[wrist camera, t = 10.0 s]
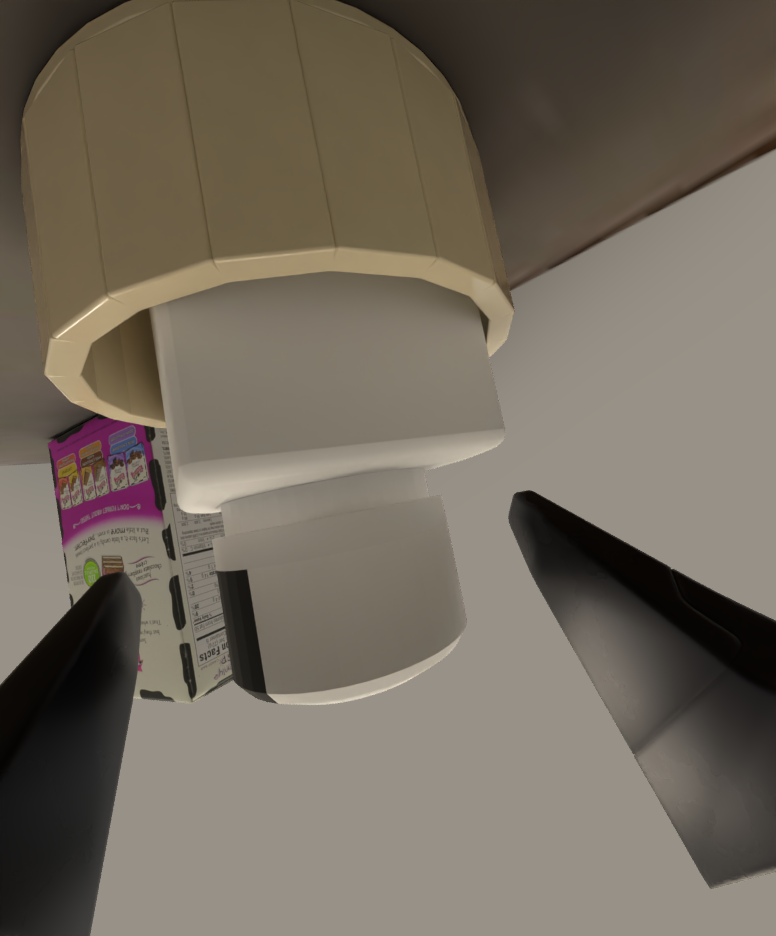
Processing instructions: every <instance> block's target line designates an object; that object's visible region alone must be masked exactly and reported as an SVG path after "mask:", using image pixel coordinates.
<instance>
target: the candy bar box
mask: <svg viewBox="0 0 776 936" xmlns="http://www.w3.org/2000/svg"><path fill="white" fill-rule="evenodd" d="M48 448H49V452H50V459H51V465H52V474H53V481H54V487H55V495H56V501H57V509H58V515H59V522H60V529H61V535H62V545H63V552H64V557H65V564H66V570H67V582H68V587H69V594H70V600H71V607H72V606H73V605H74V604H75V603H76V602H77V601H78V600H79V599H80V598H81V597H82V595H83V594H84V593H85V592H86V591H87V590H88V589H89V588H90V587H91V586H92V585H93V583H94V582H95V581H96V580H97V579H98V578H99V577H101V576H102V575H105V574H110V573H115V572H120V571H123V572H125V573H126V574H127V575H128V576H129V578H130V579H131V581H132V582H133V583H134V585H135V586H136V588H137V589H138V591H139V592H140V595H141V598H142V614H141V631H140V647H139V663H138V673H137V680H136V686H135V691H134V697H133V698H139V699H150V700H160V701H172V702H182V703H194V702H195V701H197V700H199V699H201V698H202V697H204V696H206V695H208V694H209V693H211V692H212V691H214V690H216V689H218V688H220V687H222V686H223V685H225V684H227V683H228V682H230V681H232V680H233V676H232V669H231V663H230V656H229V650H228V643H227V636H226V630H225V623H224V617H223V610H222V604H221V597H220V590H219V584H218V577H217V571H216V564H215V557H214V551H213V544H212V539H215V538H219V537H224V536H225V531H224V525H223V518H222V512H216V513H187V512H185V511H183V510H181V509H180V507H179V505H178V503H177V497H176V490H175V483H174V476H173V469H172V463H171V456H170V449H169V442H168V435H167V429H165V428H155V427H150V426H145V425H140V424H135V423H130V422H125V421H119V420H114V419H110V418H108V417H105V416H103V415H99V416H97V417H95V418H93V419H91V420H89V421H88V422H86V423H84V424H82V425H80V426H78V427H76V428H75V429H73V430H71V431H69V432H67V433H65V434H64V435H62V436H60V437H58V438H56V439H54V440H53V441H51V442H50V443H48Z"/></svg>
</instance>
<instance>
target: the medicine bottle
mask: <svg viewBox="0 0 776 936" xmlns="http://www.w3.org/2000/svg"><path fill="white" fill-rule="evenodd" d="M149 312H150V319H151V325H152V332H153V339H154V346H155V353H156V360H157V367H158V373H159V380H160V387H161V394H162V401H163V408H164V415H165V421H166V428H167V435H168V442H169V449H170V456H171V463H172V469H173V476H174V483H175V490H176V497H177V503H178V505H179V507H180V509H181V510H183V511H185V512H187V513H216V512H222V518H223V525H224V531H225V536H224V537H219V538H215V539H212V544H213V551H214V557H215V564H216V571H217V577H218V584H219V590H220V597H221V604H222V610H223V617H224V623H225V630H226V636H227V643H228V650H229V656H230V663H231V669H232V676H233V680H234V681H235V683H236V684H237V685H238V686H240V687H241V688H243V689H244V690H245V691H247V692H248V693H249V694H251V695H252V696H254V697H255V698H257V699H260V700H263V701H266V702H272V703H278V704H296V705H297V704H299V705H322V704H333V703H341V702H345V701H352V700H356V699H360V698H364V697H368V696H371V695H374V694H377V693H380V692H383V691H386V690H388V689H391V688H393V687H396V686H398V685H400V684H402V683H404V682H406V681H408V680H410V679H411V678H413V677H415V676H417V675H418V674H420V673H422V672H424V671H425V670H427V669H429V668H430V667H432V666H433V665H435V664H436V663H438V662H439V661H441V660H442V659H443V658H445V657H446V656H447V655H448V654H449V653H450V652H451V651H452V650H453V649H454V647H455V646H456V645H457V643H458V641H459V639H460V637H461V635H462V633H463V631H464V629H465V627H466V623H467V618H466V614H465V609H464V603H463V599H462V594H461V589H460V584H459V579H458V574H457V569H456V564H455V559H454V554H453V550H452V545H451V539H450V535H449V529H448V525H447V520H446V515H445V510H444V505H443V500H442V495H438V496H432V497H430V496H429V492H428V486H427V481H426V477H425V471H427V470H430V469H434V468H438V467H441V466H444V465H447V464H451V463H455V462H458V461H461V460H465V459H468V458H471V457H472V456H475V455H478V454H481V453H483V452H486V451H488V450H490V449H493V448H495V447H496V446H498V445H500V444H501V442H502V441H503V439H504V438H505V428H504V423H503V418H502V414H501V409H500V405H499V400H498V395H497V391H496V386H495V382H494V378H493V372H492V368H491V364H490V359H489V354H488V350H487V345H486V341H485V336H484V331H483V327H482V322H481V318H480V313H479V309H478V306H477V305H476V304H475V302H474V301H473V300H472V299H471V298H470V297H469V296H467V295H464V294H461V293H458V292H456V291H453V290H450V289H447V288H445V287H442V286H439V285H436V284H434V283H431V282H428V281H425V280H423V279H420V278H411V277H398V276H385V275H373V274H360V273H347V272H335V271H327V272H318V273H309V274H300V275H291V276H282V277H273V278H264V279H256V280H247V281H238V282H229V283H226V284H223V285H220V286H217V287H213V288H210V289H207V290H204V291H201V292H198V293H194V294H191V295H188V296H185V297H182V298H179V299H175V300H172V301H169V302H166V303H163V304H160V305H156V306H153V307H150V308H149Z"/></svg>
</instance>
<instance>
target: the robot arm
mask: <svg viewBox="0 0 776 936" xmlns="http://www.w3.org/2000/svg"><path fill="white" fill-rule="evenodd" d="M508 519H509V523H510V526H511V529H512V531H513V533H514V536H515V538H516V540H517V543H518V545H519V547H520V549H521V552H522V554H523V557H524V559H525V561H526V563H527V565H528V568H529V570H530V572H531V574H532V577H533V578H534V580H535V582H536V584H537V586H538V588H539V589H540V591H541V593H542V595H543V596H544V598H545V600H546V602H547V603H548V605H549V607H550V609H551V611H552V612H553V614H554V616H555V618H556V619H557V621H558V623H559V625H560V626H561V628H562V630H563V632H564V633H565V635H566V637H567V639H568V640H569V642H570V644H571V646H572V647H573V649H574V651H575V653H576V654H577V656H578V658H579V660H580V661H581V663H582V665H583V667H584V669H585V670H586V672H587V674H588V675H589V677H590V679H591V681H592V683H593V684H594V686H595V688H596V690H597V691H598V693H599V695H600V697H601V698H602V700H603V702H604V704H605V705H606V707H607V709H608V710H609V713H610V714H611V716H612V718H613V720H614V721H615V723H616V725H617V727H618V728H619V730H620V732H621V734H622V735H623V737H624V739H625V741H626V742H627V744H628V746H629V748H630V749H631V751H632V753H633V754H635V755H634V757H635V759H636V760H637V762H638V764H639V766H640V768H641V769H642V771H643V773H644V775H645V776H646V778H647V780H648V782H649V783H650V785H651V787H652V788H653V790H654V792H655V794H656V796H657V797H658V799H659V801H660V803H661V804H662V806H663V808H664V810H665V812H666V813H667V815H668V817H669V819H670V820H671V822H672V824H673V826H674V827H675V829H676V831H677V833H678V834H679V836H680V838H681V840H682V841H683V843H684V845H685V847H686V848H687V850H688V852H689V854H690V855H691V857H692V859H693V860H694V862H695V864H696V866H697V868H698V870H699V871H700V873H701V875H702V876H703V878H704V880H705V881H706V883H707V884H708V886H709V887H710V888H711V889H714V888H718V887H721V886H725V885H729V884H733V883H736V882H740V881H744V880H747V879H751V878H754V877H758V876H762V875H766V874H770V873H773V872H776V621H775V620H773V619H771V618H769V617H767V616H765V615H763V614H761V613H758V612H756V611H754V610H752V609H750V608H748V607H746V606H744V605H742V604H740V603H737V602H736V601H734V600H732V599H730V598H728V597H725V596H724V595H721V594H720V593H717V592H715V591H714V590H712V589H710V588H708V587H706V586H704V585H702V584H700V583H698V582H696V581H695V580H693V579H691V578H689V577H687V576H686V575H684V574H682V573H680V572H678V571H677V570H674V569H671V568H670V567H669V566H667V565H665V564H664V563H662V562H660V561H658V560H657V559H655V558H653V557H651V556H649V555H647V554H646V553H644V552H642V551H640V550H638V549H636V548H635V547H633V546H631V545H629V544H628V543H626V542H624V541H622V540H620V539H618V538H617V537H615V536H613V535H611V534H609V533H608V532H606V531H604V530H602V529H600V528H599V527H597V526H595V525H593V524H591V523H590V522H588V521H585V520H584V519H582V518H580V517H578V516H577V515H575V514H573V513H572V512H569V511H568V510H566V509H564V508H562V507H561V506H559V505H557V504H555V503H553V502H552V501H550V500H548V499H546V498H544V497H543V496H541V495H539V494H537V493H535V492H533V491H530V490H527V491H522V492H517V493H515V494H514V495H513V499H512V503H511V507H510V511H509V518H508ZM141 614H142V598H141V595H140V592H139V591H138V589H137V588H136V586H135V585H134V583H133V582H132V581H131V579H130V578H129V576H128V575H127V574H126V573H125V572H123V571H120V572H115V573H110V574H105V575H102V576H101V577H99V578H98V579H97V580H96V581H95V582H94V583H93V585H92V586H91V587H90V588H89V589H88V590H87V591H86V592H85V593H84V594H83V595H82V597H81V598H80V599H79V600H78V601H77V602H76V603H75V604H74V605H73V606H72V607H71V609H70V610H69V611H68V612H67V613H66V614H65V615H64V616H63V617H62V618H61V619H60V621H59V622H58V623H57V624H56V625H55V626H54V627H53V628H52V629H51V630H50V632H48V634H47V635H46V636H45V637H44V638H43V639H42V640H41V641H40V642H39V643H38V644H37V646H36V647H35V648H34V649H33V650H32V651H31V652H30V653H29V654H28V655H27V656H26V657H25V659H24V660H23V661H22V662H21V663H20V664H19V665H18V666H17V667H16V668H15V670H13V672H12V673H11V674H10V675H9V676H8V677H7V678H6V679H5V680H4V681H3V682H2V684H1V685H0V936H90V933H91V927H92V921H93V916H94V911H95V905H96V900H97V894H98V888H99V883H100V878H101V872H102V866H103V861H104V856H105V850H106V845H107V839H108V834H109V828H110V823H111V817H112V812H113V806H114V801H115V796H116V790H117V785H118V779H119V773H120V768H121V763H122V757H123V752H124V746H125V740H126V735H127V730H128V724H129V719H130V713H131V708H132V702H133V697H134V691H135V686H136V680H137V673H138V663H139V647H140V631H141Z"/></svg>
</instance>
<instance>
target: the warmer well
mask: <svg viewBox="0 0 776 936" xmlns="http://www.w3.org/2000/svg"><path fill="white" fill-rule="evenodd" d="M20 147H21V189H22V197H23V206H24V214H25V222H26V231H27V239H28V247H29V255H30V264H31V272H32V280H33V289H34V297H35V305H36V314H37V322H38V330H39V338H40V347H41V355H42V363H43V372H44V374H45V375H46V377H47V378H48V379H49V380H50V381H51V382H52V383H53V384H54V385H55V386H56V387H57V388H58V389H59V390H60V391H61V392H62V393H63V394H64V396H65V397H66V398H67V399H68V400H69V401H71V402H72V403H74V404H76V405H79V406H81V407H83V408H86V409H88V410H91V411H93V412H96V413H98V414H101V415H103V416H105V417H108V418H110V419H114V420H119V421H125V422H130V423H135V424H140V425H145V426H150V427H155V428H165V429H167V428H166V421H165V415H164V408H163V401H162V394H161V387H160V380H159V373H158V367H157V360H156V353H155V346H154V339H153V332H152V325H151V319H150V312H149V308H150V307H153V306H156V305H160V304H163V303H166V302H169V301H172V300H175V299H179V298H182V297H185V296H188V295H191V294H194V293H198V292H201V291H204V290H207V289H210V288H213V287H217V286H220V285H223V284H226V283H229V282H238V281H247V280H256V279H264V278H273V277H282V276H291V275H300V274H309V273H318V272H327V271H335V272H347V273H360V274H373V275H385V276H398V277H411V278H420V279H423V280H425V281H428V282H431V283H434V284H436V285H439V286H442V287H445V288H447V289H450V290H453V291H456V292H458V293H461V294H464V295H467V296H469V297H470V298H471V299H472V300H473V301H474V302H475V304H476V305H477V306H478V309H479V313H480V318H481V322H482V327H483V331H484V336H485V341H486V345H487V350H488V354H489V358H490V357H491V356H492V355H493V354H494V353H495V352H496V351H497V350H498V349H499V348H500V347H501V345H502V344H503V343H504V342H505V341H506V339H507V338H508V334H509V330H510V326H511V322H512V319H513V315H514V306H513V302H512V297H511V293H510V289H509V284H508V280H507V275H506V271H505V267H504V262H503V258H502V253H501V249H500V244H499V240H498V236H497V231H496V227H495V222H494V218H493V214H492V209H491V205H490V200H489V196H488V192H487V187H486V183H485V178H484V174H483V170H482V165H481V161H480V156H479V152H478V148H477V146H476V144H475V141H474V139H473V137H472V134H471V130H470V126H469V123H468V121H467V118H466V116H465V113H464V111H463V108H462V106H461V103H460V101H459V99H458V98H457V96H456V95H455V93H454V91H453V90H452V88H451V87H450V85H449V83H448V82H447V80H446V79H445V77H444V76H443V75H442V73H441V72H440V71H439V70H438V69H437V68H436V67H435V66H434V65H433V63H432V62H431V61H430V60H429V59H428V58H427V57H426V56H425V55H424V53H423V52H422V51H421V50H419V49H418V48H417V47H416V46H414V45H413V44H412V43H411V42H409V41H408V40H407V39H406V38H404V37H403V36H402V35H401V34H399V33H398V32H397V31H395V30H394V29H393V28H392V27H390V26H388V25H386V24H384V23H383V22H381V21H379V20H377V19H375V18H374V17H372V16H370V15H368V14H366V13H365V12H363V11H361V10H359V9H358V8H356V7H353V6H350V5H347V4H345V3H342V2H339V1H337V0H130V1H127V2H124V3H123V4H121V5H119V6H117V7H115V8H114V9H112V10H110V11H108V12H106V13H105V14H103V15H101V16H99V17H97V18H96V19H94V20H92V21H90V22H88V23H87V24H86V25H84V26H83V27H82V28H81V29H80V30H79V31H78V32H76V33H75V34H74V35H73V36H72V37H71V38H70V39H68V40H67V41H66V42H65V43H64V44H63V45H62V46H60V47H59V48H58V49H57V50H56V52H55V53H54V55H53V56H52V57H51V59H50V60H49V62H48V63H47V64H46V66H45V67H44V69H43V70H42V71H41V73H40V74H39V75H38V77H37V78H36V80H35V83H34V85H33V88H32V90H31V93H30V95H29V98H28V100H27V103H26V105H25V108H24V112H23V119H22V127H21V134H20Z"/></svg>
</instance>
